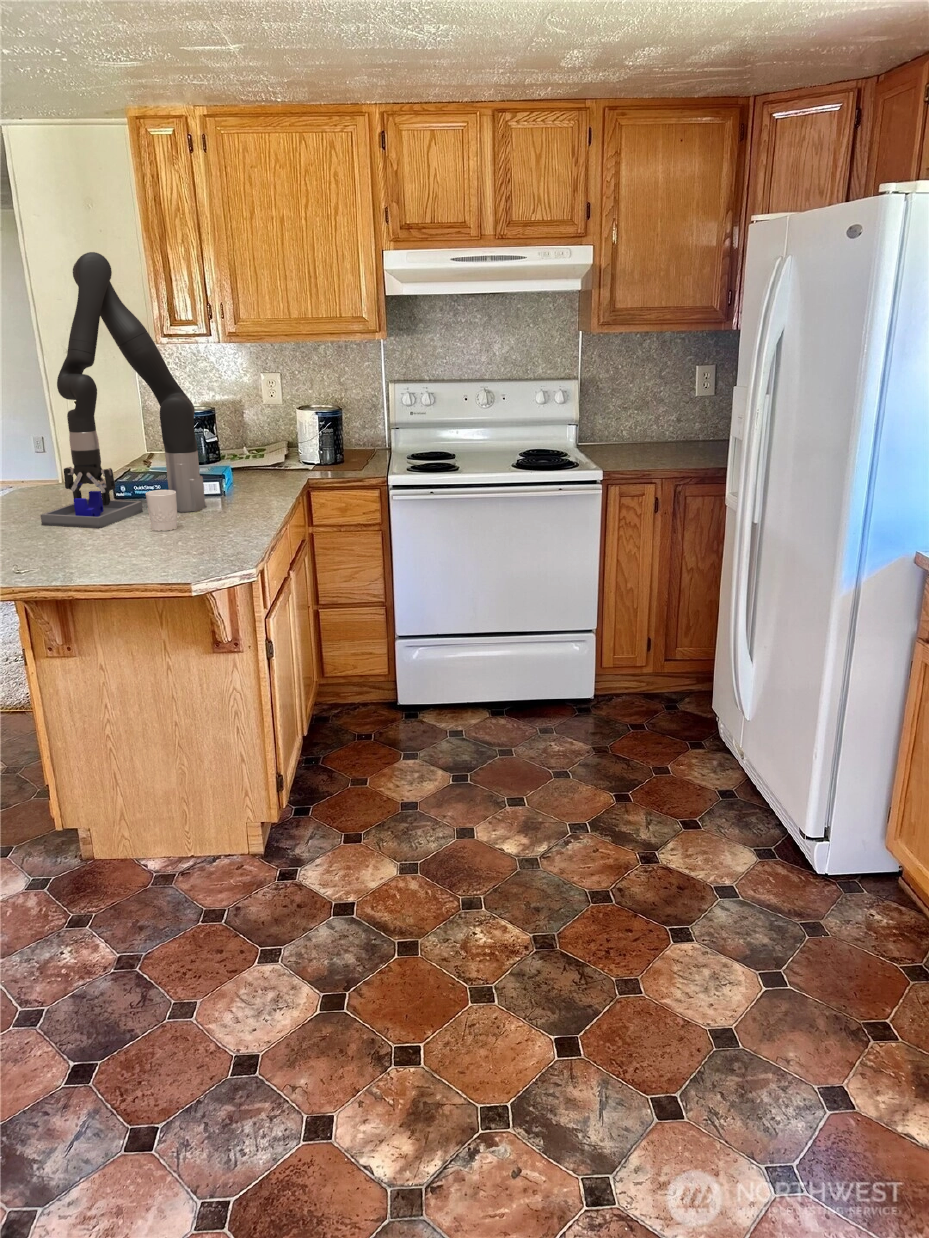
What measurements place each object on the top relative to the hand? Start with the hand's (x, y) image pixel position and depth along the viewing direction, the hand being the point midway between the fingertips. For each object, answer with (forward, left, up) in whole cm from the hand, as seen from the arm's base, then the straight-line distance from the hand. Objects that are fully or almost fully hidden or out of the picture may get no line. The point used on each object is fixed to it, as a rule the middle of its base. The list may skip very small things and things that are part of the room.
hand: (92, 504), depth 263 cm
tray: (0, 0, -4) cm, 4 cm away
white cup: (-26, +7, -4) cm, 27 cm away
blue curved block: (0, 0, -3) cm, 3 cm away
